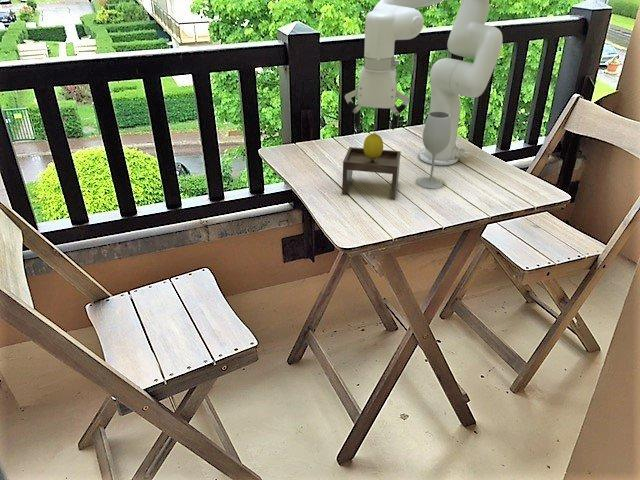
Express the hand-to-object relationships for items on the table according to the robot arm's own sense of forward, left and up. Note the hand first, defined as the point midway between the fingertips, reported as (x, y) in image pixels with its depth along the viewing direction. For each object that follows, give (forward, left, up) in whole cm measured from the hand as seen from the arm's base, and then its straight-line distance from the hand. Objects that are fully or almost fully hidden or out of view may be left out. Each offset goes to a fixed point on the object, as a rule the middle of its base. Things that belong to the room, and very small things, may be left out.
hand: (375, 126), depth 145 cm
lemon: (0, 0, -10) cm, 10 cm away
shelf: (0, 0, -19) cm, 19 cm away
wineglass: (-17, -7, -19) cm, 26 cm away
